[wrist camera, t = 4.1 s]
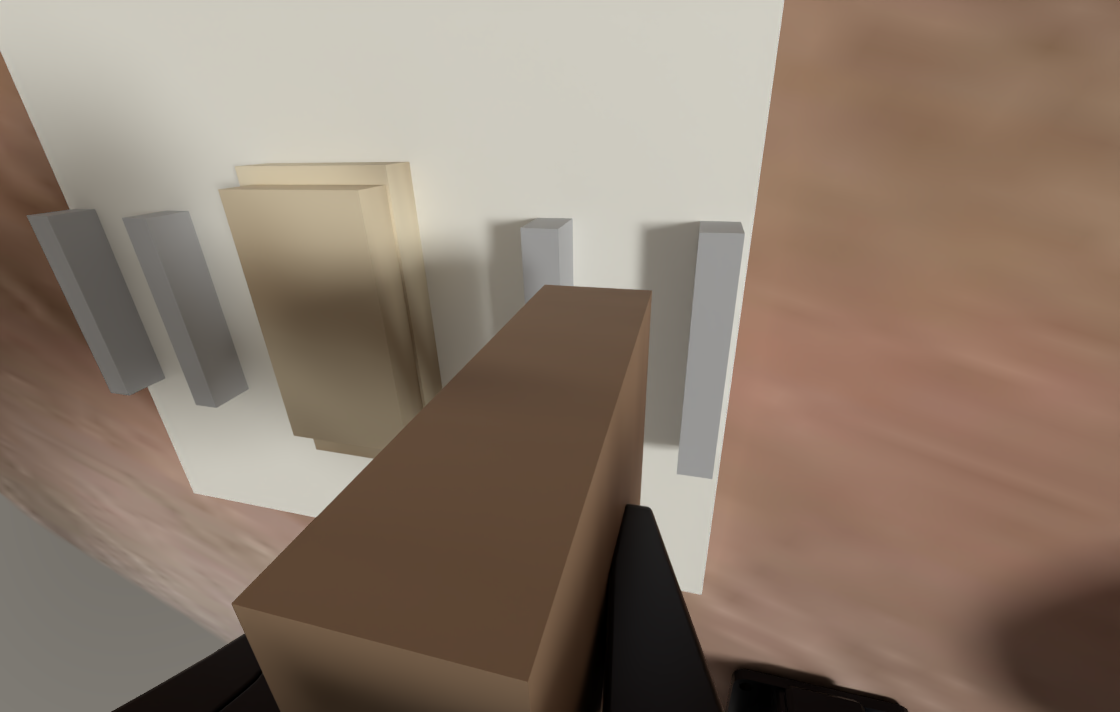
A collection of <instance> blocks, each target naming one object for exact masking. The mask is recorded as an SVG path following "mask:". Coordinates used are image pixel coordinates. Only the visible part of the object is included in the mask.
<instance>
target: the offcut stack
mask: <svg viewBox="0 0 1120 712" xmlns="http://www.w3.org/2000/svg"><path fill="white" fill-rule="evenodd" d="M235 170H236V173H237V177H238V180H239V184H240V187H233V188H225V189H218V191H219V195H220V198H221V201H222V204H223V208H224V211H225V214H226V217H227V221H228V224H229V227H230V230H231V234H232V237H233V240H234V243H235V247H236V250H237V253H238V256H239V260H240V263H241V266H242V269H243V273H244V276H245V279H246V282H247V285H248V289H249V292H250V295H251V298H252V302H253V305H254V308H255V311H256V315H257V318H258V321H259V324H260V328H261V331H262V334H263V337H264V341H265V344H266V347H267V350H268V354H269V357H270V360H271V363H272V367H273V370H274V373H275V376H276V380H277V383H278V386H279V389H280V393H281V396H282V399H283V402H284V406H285V409H286V412H287V415H288V419H289V422H290V425H291V428H292V432H293V435H294V436H299V437H305V438H312V439H313V440H314V443H315V447H316V450H323V451H329V452H335V453H341V454H348V455H354V456H360V457H366V458H373V459H374V458H375V457H376V456H377V455H378V454H379V453H380V452H381V451H382V450H383V449H384V448H385V447H386V446H387V445H388V444H389V443H390V442H391V441H392V440H393V439H394V438H395V437H396V435H397V434H398V433H399V432H400V431H401V430H402V429H403V428H404V427H405V426H406V425H407V424H408V423H409V422H410V421H411V420H412V419H413V418H414V417H415V416H416V415H417V414H418V413H419V412H420V411H421V410H422V409H423V408H424V407H425V406H426V405H427V404H428V403H429V402H430V401H431V400H432V399H433V398H434V397H435V396H436V395H437V394H438V393H439V392H440V391H441V390H442V382H441V375H440V368H439V362H438V355H437V348H436V341H435V334H434V327H433V321H432V314H431V307H430V300H429V293H428V286H427V280H426V273H425V266H424V259H423V252H422V245H421V239H420V232H419V225H418V218H417V211H416V204H415V198H414V191H413V184H412V177H411V170H410V163H409V162H343V163H265V164H254V165H244V166H235Z"/></svg>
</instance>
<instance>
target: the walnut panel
mask: <svg viewBox="0 0 1120 712" xmlns="http://www.w3.org/2000/svg"><path fill="white" fill-rule="evenodd" d="M651 301H652V290H635V289H617V288H598V287H580V286H561V285H544V286H543V287H542V288H541V289H540V290H539V291H538V292H537V293H536V294H535V295H534V296H533V297H532V298H531V299H530V300H529V301H528V302H527V303H526V304H525V305H524V306H523V307H522V308H521V309H520V310H519V311H518V312H517V313H516V314H515V315H514V316H513V317H512V318H511V319H510V320H509V321H508V322H507V323H506V324H505V325H504V327H503V328H502V329H501V330H500V331H499V332H498V333H497V334H496V335H495V336H494V337H493V338H492V339H491V340H490V341H489V342H488V343H487V344H486V345H485V346H484V347H483V348H482V349H481V350H480V351H479V352H478V353H477V354H476V355H475V356H474V357H473V358H472V359H471V360H470V361H469V362H468V363H467V364H466V365H465V366H464V367H463V368H462V369H461V370H460V371H459V372H458V373H457V374H456V375H455V376H454V377H453V378H452V379H451V380H450V382H449V383H448V384H447V385H446V386H445V387H444V388H443V389H442V390H441V391H440V392H439V393H438V394H437V395H436V396H435V397H434V398H433V399H432V400H431V401H430V402H429V403H428V404H427V405H426V406H425V407H424V408H423V409H422V410H421V411H420V412H419V413H418V414H417V415H416V416H415V417H414V418H413V419H412V420H411V421H410V422H409V423H408V424H407V425H406V426H405V427H404V428H403V429H402V430H401V431H400V432H399V433H398V434H397V435H396V437H395V438H394V439H393V440H392V441H391V442H390V443H389V444H388V445H387V446H386V447H385V448H384V449H383V450H382V451H381V452H380V453H379V454H378V455H377V456H376V457H375V458H374V459H373V460H372V461H371V462H370V463H369V464H368V465H367V466H366V467H365V468H364V469H363V470H362V471H361V472H360V473H359V474H358V475H357V476H356V477H355V478H354V479H353V480H352V481H351V482H350V483H349V484H348V485H347V486H346V487H345V488H344V489H343V491H342V492H341V493H340V494H339V495H338V496H337V497H336V498H335V499H334V500H333V501H332V502H331V503H330V504H329V505H328V506H327V507H326V508H325V509H324V510H323V511H322V512H321V513H320V514H319V515H318V516H317V517H316V518H315V519H314V520H313V521H312V522H311V523H310V524H309V525H308V526H307V527H306V528H305V529H304V530H303V531H302V532H301V533H300V534H299V535H298V536H297V537H296V538H295V539H294V540H293V541H292V542H291V543H290V544H289V546H288V547H287V548H286V549H285V550H284V551H283V552H282V553H281V554H280V555H279V556H278V557H277V558H276V559H275V560H274V561H273V562H272V563H271V564H270V565H269V566H268V567H267V568H266V569H265V570H264V571H263V572H262V573H261V574H260V575H259V576H258V577H257V578H256V579H255V580H254V581H253V582H252V583H251V584H250V585H249V586H248V587H247V588H246V589H245V590H244V591H243V592H242V593H241V594H240V595H239V596H238V597H237V598H236V599H235V601H234V602H233V603H232V606H233V608H234V611H235V613H236V615H237V617H238V619H239V622H240V624H241V626H242V628H243V630H244V633H245V635H246V637H247V639H248V641H249V644H250V646H251V648H252V650H253V652H254V655H255V657H256V659H257V661H258V663H259V666H260V668H261V670H262V672H263V674H264V677H265V679H266V681H267V683H268V685H269V688H270V690H271V692H272V694H273V696H274V699H275V701H276V703H277V705H278V707H279V710H280V712H602V704H603V684H604V663H605V642H606V622H607V601H608V581H609V571H610V566H611V562H612V557H613V553H614V549H615V545H616V541H617V537H618V533H619V530H620V526H621V522H622V518H623V514H624V510H625V506H626V504H635V505H640V499H641V481H642V463H643V445H644V427H645V409H646V391H647V373H648V355H649V337H650V319H651Z"/></svg>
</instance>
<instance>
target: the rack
mask: <svg viewBox="0 0 1120 712" xmlns="http://www.w3.org/2000/svg"><path fill="white" fill-rule="evenodd" d="M783 6H784V0H0V51H1V53H2V56H3V58H4V60H5V63H6V65H7V67H8V69H9V72H10V74H11V76H12V79H13V81H14V83H15V85H16V88H17V90H18V92H19V95H20V97H21V99H22V101H23V104H24V106H25V108H26V110H27V113H28V115H29V117H30V120H31V122H32V124H33V126H34V129H35V131H36V133H37V136H38V138H39V140H40V142H41V145H42V147H43V149H44V152H45V154H46V156H47V158H48V161H49V163H50V165H51V168H52V170H53V172H54V174H55V177H56V179H57V181H58V184H59V186H60V188H61V190H62V193H63V195H64V197H65V200H66V202H67V204H68V206H69V209H70V210H63V211H55V212H48V213H41V214H34V215H27V218H28V220H29V222H30V224H31V226H32V228H33V230H34V232H35V234H36V236H37V239H38V241H39V243H40V245H41V247H42V249H43V251H44V253H45V255H46V257H47V260H48V262H49V264H50V266H51V268H52V270H53V272H54V274H55V276H56V278H57V280H58V283H59V285H60V287H61V289H62V291H63V293H64V295H65V297H66V299H67V301H68V304H69V306H70V308H71V310H72V312H73V314H74V316H75V318H76V320H77V322H78V325H79V327H80V329H81V331H82V333H83V335H84V337H85V339H86V341H87V343H88V345H89V348H90V350H91V352H92V354H93V356H94V358H95V360H96V362H97V364H98V366H99V369H100V371H101V373H102V375H103V377H104V379H105V381H106V383H107V385H108V387H109V390H110V392H111V393H116V394H123V395H131V394H134V393H136V392H138V391H140V390H142V389H144V388H146V387H148V389H149V391H150V394H151V396H152V398H153V400H154V403H155V405H156V407H157V410H158V412H159V414H160V416H161V419H162V421H163V423H164V426H165V428H166V430H167V432H168V435H169V437H170V439H171V442H172V444H173V446H174V448H175V451H176V453H177V455H178V458H179V460H180V462H181V464H182V467H183V469H184V471H185V474H186V476H187V478H188V480H189V483H190V485H191V487H192V489H193V492H194V493H196V494H201V495H206V496H211V497H216V498H221V499H226V500H231V501H236V502H241V503H246V504H251V505H256V506H261V507H266V508H271V509H276V510H281V511H286V512H291V513H296V514H301V515H306V516H311V517H317V516H318V515H319V514H320V513H321V512H322V511H323V510H324V509H325V508H326V507H327V506H328V505H329V504H330V503H331V502H332V501H333V500H334V499H335V498H336V497H337V496H338V495H339V494H340V493H341V492H342V491H343V489H344V488H345V487H346V486H347V485H348V484H349V483H350V482H351V481H352V480H353V479H354V478H355V477H356V476H357V475H358V474H359V473H360V472H361V471H362V470H363V469H364V468H365V467H366V466H367V465H368V464H369V463H370V462H371V461H372V460H373V458H366V457H360V456H354V455H348V454H341V453H335V452H329V451H323V450H316V447H315V443H314V440H313V439H312V438H305V437H299V436H294V435H293V432H292V428H291V425H290V422H289V419H288V415H287V412H286V409H285V406H284V402H283V399H282V396H281V393H280V389H279V386H278V383H277V380H276V376H275V373H274V370H273V367H272V363H271V360H270V357H269V354H268V350H267V347H266V344H265V341H264V337H263V334H262V331H261V328H260V324H259V321H258V318H257V315H256V311H255V308H254V305H253V302H252V298H251V295H250V292H249V289H248V285H247V282H246V279H245V276H244V273H243V269H242V266H241V263H240V260H239V256H238V253H237V250H236V247H235V243H234V240H233V237H232V234H231V230H230V227H229V224H228V221H227V217H226V214H225V211H224V208H223V204H222V201H221V198H220V195H219V191H218V189H225V188H233V187H240V184H239V180H238V177H237V173H236V170H235V166H244V165H254V164H265V163H343V162H409V163H410V170H411V177H412V184H413V191H414V198H415V204H416V211H417V218H418V225H419V232H420V239H421V245H422V252H423V259H424V266H425V273H426V280H427V286H428V293H429V300H430V307H431V314H432V321H433V327H434V334H435V341H436V348H437V355H438V362H439V368H440V375H441V382H442V389H443V388H444V387H445V386H446V385H447V384H448V383H449V382H450V380H451V379H452V378H453V377H454V376H455V375H456V374H457V373H458V372H459V371H460V370H461V369H462V368H463V367H464V366H465V365H466V364H467V363H468V362H469V361H470V360H471V359H472V358H473V357H474V356H475V355H476V354H477V353H478V352H479V351H480V350H481V349H482V348H483V347H484V346H485V345H486V344H487V343H488V342H489V341H490V340H491V339H492V338H493V337H494V336H495V335H496V334H497V333H498V332H499V331H500V330H501V329H502V328H503V327H504V325H505V324H506V323H507V322H508V321H509V320H510V319H511V318H512V317H513V316H514V315H515V314H516V313H517V312H518V311H519V310H520V309H521V308H522V307H523V306H524V305H525V304H526V303H527V302H528V301H529V300H530V299H531V298H532V297H533V296H534V295H535V294H536V293H537V292H538V291H539V290H540V289H541V288H542V287H543V286H544V285H561V286H580V287H598V288H617V289H635V290H652V301H651V319H650V337H649V355H648V373H647V391H646V409H645V427H644V445H643V463H642V481H641V499H640V505H641V506H647V507H649V508H651V510H652V511H653V514H654V517H655V519H656V522H657V525H658V528H659V531H660V533H661V536H662V539H663V542H664V545H665V547H666V550H667V553H668V556H669V559H670V561H671V564H672V567H673V570H674V573H675V575H676V578H677V581H678V584H679V587H680V589H681V591H685V592H690V593H695V594H700V595H702V588H703V581H704V574H705V567H706V559H707V552H708V545H709V538H710V531H711V523H712V516H713V509H714V502H715V495H716V487H717V480H718V473H719V466H720V459H721V452H722V444H723V437H724V430H725V423H726V416H727V408H728V401H729V394H730V387H731V380H732V372H733V365H734V358H735V351H736V344H737V337H738V329H739V322H740V315H741V308H742V301H743V293H744V286H745V279H746V272H747V265H748V257H749V250H750V243H751V236H752V229H753V222H754V214H755V207H756V200H757V193H758V186H759V178H760V171H761V164H762V157H763V150H764V142H765V135H766V128H767V121H768V114H769V107H770V99H771V92H772V85H773V78H774V71H775V63H776V56H777V49H778V42H779V35H780V27H781V20H782V13H783Z"/></svg>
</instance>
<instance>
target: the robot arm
mask: <svg viewBox="0 0 1120 712" xmlns="http://www.w3.org/2000/svg"><path fill="white" fill-rule="evenodd" d="M112 712H280V710H279V707H278V705H277V703H276V701H275V699H274V696H273V694H272V692H271V690H270V688H269V685H268V683H267V681H266V679H265V677H264V674H263V672H262V670H261V668H260V666H259V663H258V661H257V659H256V657H255V655H254V652H253V650H252V648H251V646H250V644H249V641H248V639H247V637H246V635H245V634H243V635H241V636H240V637H238V638H237V639H235V640H233V641H232V642H230V643H229V644H227V645H225V646H224V647H222V648H221V649H219V650H217V651H216V652H214V653H213V654H211V655H209V656H208V657H206V658H204V659H203V660H201V661H199V662H197V663H196V664H194V665H192V666H191V667H189V668H187V669H185V670H184V671H182V672H180V673H179V674H177V675H175V676H173V677H172V678H170V679H168V680H167V681H165V682H163V683H161V684H160V685H158V686H156V687H154V688H153V689H151V690H149V691H147V692H146V693H144V694H142V695H140V696H138V697H137V698H135V699H133V700H131V701H130V702H128V703H126V704H124V705H123V706H121V707H119V708H117V709H115V710H114V711H112ZM602 712H724V710H723V707H722V704H721V701H720V698H719V696H718V693H717V690H716V687H715V684H714V682H713V679H712V676H711V673H710V670H709V668H708V665H707V662H706V659H705V656H704V654H703V651H702V648H701V645H700V642H699V640H698V637H697V634H696V631H695V628H694V626H693V623H692V620H691V617H690V615H689V612H688V609H687V606H686V603H685V601H684V598H683V595H682V592H681V589H680V587H679V584H678V581H677V578H676V575H675V573H674V570H673V567H672V564H671V561H670V559H669V556H668V553H667V550H666V547H665V545H664V542H663V539H662V536H661V533H660V531H659V528H658V525H657V522H656V519H655V517H654V514H653V511H652V510H651V508H649V507H647V506H641V505H635V504H626V506H625V510H624V514H623V518H622V522H621V526H620V530H619V533H618V537H617V541H616V545H615V549H614V553H613V557H612V562H611V566H610V571H609V581H608V601H607V622H606V642H605V663H604V684H603V704H602ZM725 712H908V710H907V709H906V708H904V707H903V706H900V705H897V704H893V703H888V702H884V701H880V700H875V699H871V698H867V697H862V696H858V695H854V694H850V693H845V692H841V691H837V690H832V689H828V688H824V687H819V686H815V685H811V684H806V683H802V682H798V681H793V680H789V679H785V678H780V677H776V676H772V675H767V674H763V673H759V672H755V671H750V670H745V669H740V670H736V671H735V672H734V673H733V676H732V681H731V686H730V691H729V696H728V701H727V706H726V711H725Z"/></svg>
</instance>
